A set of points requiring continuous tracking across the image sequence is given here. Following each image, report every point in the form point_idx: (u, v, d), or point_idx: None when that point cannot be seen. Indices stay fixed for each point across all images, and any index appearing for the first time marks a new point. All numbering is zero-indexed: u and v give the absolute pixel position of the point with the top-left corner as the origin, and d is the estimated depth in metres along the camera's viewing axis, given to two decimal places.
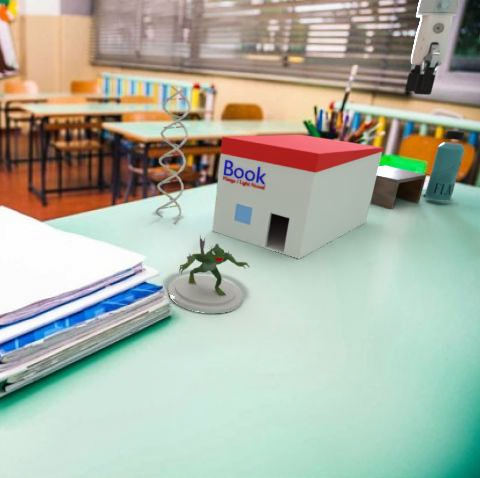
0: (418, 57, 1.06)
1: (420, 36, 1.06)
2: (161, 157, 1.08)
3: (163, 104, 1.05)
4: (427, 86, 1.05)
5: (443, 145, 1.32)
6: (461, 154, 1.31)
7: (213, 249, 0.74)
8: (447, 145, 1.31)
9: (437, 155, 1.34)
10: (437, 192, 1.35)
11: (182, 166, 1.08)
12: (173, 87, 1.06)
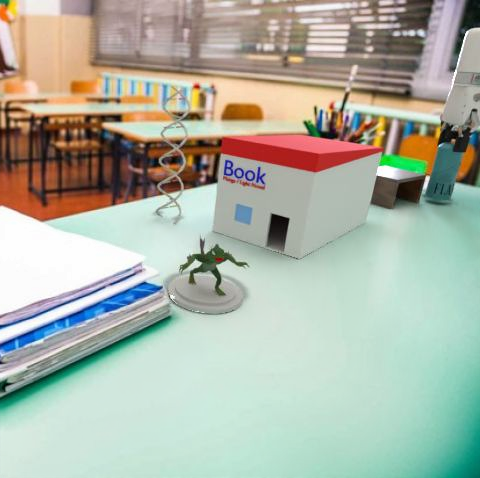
0: (459, 120, 1.27)
1: (459, 102, 1.27)
2: (161, 157, 1.08)
3: (163, 104, 1.05)
4: (464, 146, 1.28)
5: (443, 145, 1.32)
6: (461, 154, 1.31)
7: (213, 249, 0.74)
8: (447, 145, 1.31)
9: (437, 155, 1.34)
10: (437, 192, 1.35)
11: (182, 166, 1.09)
12: (173, 87, 1.06)
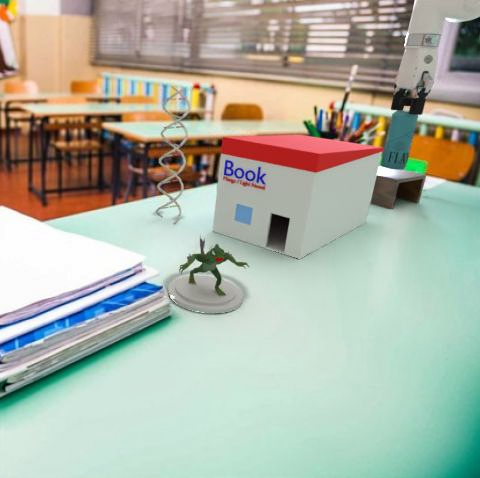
0: (411, 83, 1.24)
1: (411, 65, 1.24)
2: (161, 157, 1.08)
3: (163, 104, 1.05)
4: (420, 108, 1.24)
5: (396, 112, 1.30)
6: (414, 121, 1.28)
7: (213, 249, 0.74)
8: (400, 112, 1.29)
9: (391, 123, 1.31)
10: (392, 161, 1.32)
11: (182, 166, 1.08)
12: (173, 87, 1.06)
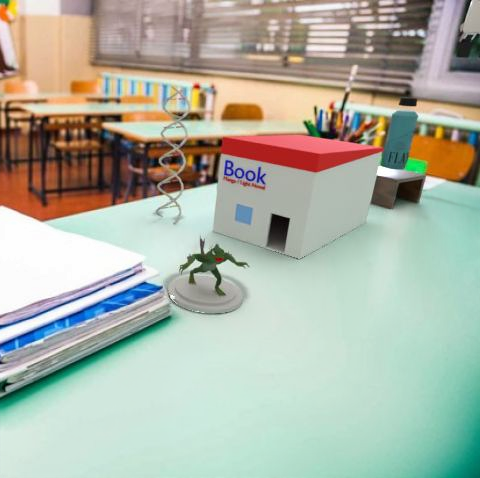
0: None
1: None
2: (161, 157, 1.08)
3: (163, 104, 1.05)
4: None
5: (396, 112, 1.30)
6: (414, 121, 1.28)
7: (213, 249, 0.74)
8: (400, 112, 1.29)
9: (391, 123, 1.31)
10: (392, 161, 1.32)
11: (182, 166, 1.09)
12: (173, 87, 1.06)
